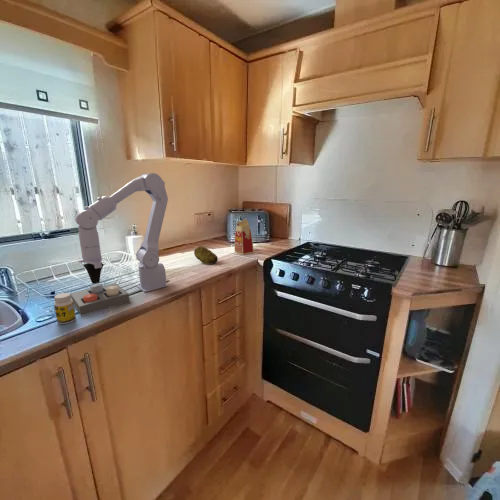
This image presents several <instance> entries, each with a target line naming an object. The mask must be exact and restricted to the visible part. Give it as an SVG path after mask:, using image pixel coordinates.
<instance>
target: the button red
mask: <svg viewBox="0 0 500 500" xmlns="http://www.w3.org/2000/svg"><path fill="white" fill-rule="evenodd" d="M83 300H84V303H88V302H92V301H96V300H98V299H97V294H88V295H85V296H84V297H83Z"/></svg>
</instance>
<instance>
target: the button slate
mask: <svg viewBox="0 0 500 500" xmlns="http://www.w3.org/2000/svg"><path fill="white" fill-rule="evenodd" d="M103 286H104V285H103V283H96V284H91V285H90V286H89V289H90V291H91V294H97V293H101V292H104V291H103Z"/></svg>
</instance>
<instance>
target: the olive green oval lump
mask: <svg viewBox="0 0 500 500" xmlns="http://www.w3.org/2000/svg"><path fill="white" fill-rule="evenodd" d="M193 254H194V256H195V258H196V259H197V260H198V261H199V262H201V264H204V265H205V264H206V265H215V264H216V263H217V262H218V259H219V258H218V256H217V255H216V253H214V252H213V251H212V250H210V249H208V248H207V247H205V246H199V247H198V246H197V247H196V248H195V249H194V250H193Z"/></svg>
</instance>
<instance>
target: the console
mask: <svg viewBox="0 0 500 500" xmlns="http://www.w3.org/2000/svg"><path fill="white" fill-rule="evenodd" d="M110 286H118V288H119V295H115V296H111V297H107V295H106V288H107V287H110ZM103 291H104V292H101V293H97V299H98V300H96V301H92V302H88V303H84V300H83V297H84V296H85V295H88V294H91V291H90V288H87V289H84V290H83V289H82V290H80V291H75V292H71V293H70V292H69V293H70V295H71V299H72V300H73V304H74V308H75V309H76V310H77V312H78V313H79V314H80V316H83V315H87V314H90V313H94V312H97V311H98V312H99V311H101V310H104V309H108V308H112V307H115V306H119V305H123V304H126V303H128V302H130V294H129V292H127V291H126V290H125V289H124V288H122V286H120V285H119V284H117V283H116V282H114V283H109V284H106V285H105V284H104V285H103Z"/></svg>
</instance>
